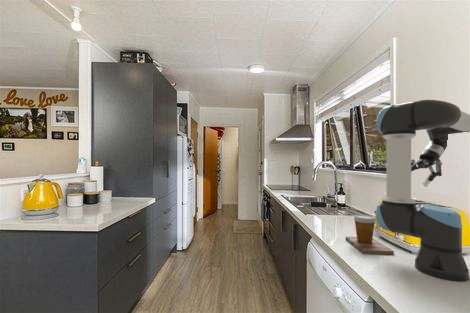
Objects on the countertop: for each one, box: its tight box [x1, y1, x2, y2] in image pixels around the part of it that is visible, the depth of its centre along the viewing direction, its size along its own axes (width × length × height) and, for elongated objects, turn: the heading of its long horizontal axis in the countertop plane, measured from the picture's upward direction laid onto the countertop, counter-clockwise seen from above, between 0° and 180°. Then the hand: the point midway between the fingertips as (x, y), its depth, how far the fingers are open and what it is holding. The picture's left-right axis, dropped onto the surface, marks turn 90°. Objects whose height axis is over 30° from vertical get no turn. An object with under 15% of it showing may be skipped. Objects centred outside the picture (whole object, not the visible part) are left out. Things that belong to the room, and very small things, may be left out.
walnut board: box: [345, 236, 395, 255], centre depth 113 cm, size 19×13×2 cm
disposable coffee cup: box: [353, 214, 377, 243], centre depth 116 cm, size 10×10×12 cm
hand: (409, 183), depth 119 cm, fingers open, 13 cm apart
